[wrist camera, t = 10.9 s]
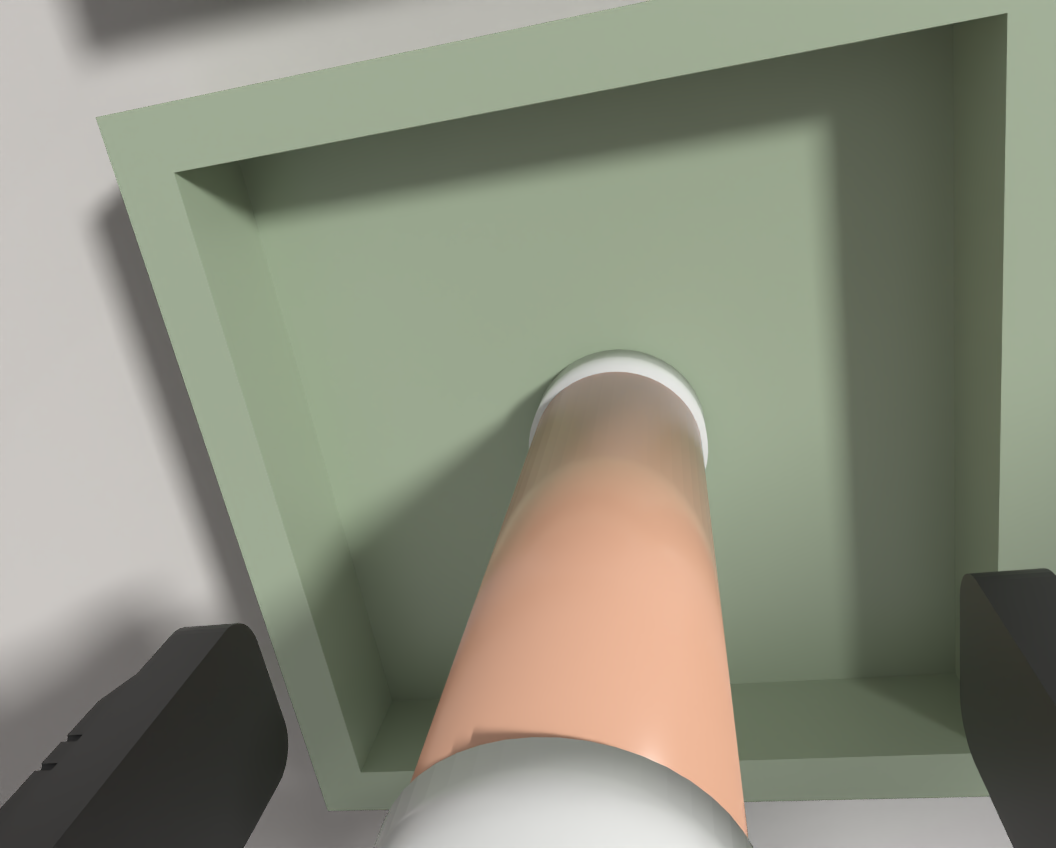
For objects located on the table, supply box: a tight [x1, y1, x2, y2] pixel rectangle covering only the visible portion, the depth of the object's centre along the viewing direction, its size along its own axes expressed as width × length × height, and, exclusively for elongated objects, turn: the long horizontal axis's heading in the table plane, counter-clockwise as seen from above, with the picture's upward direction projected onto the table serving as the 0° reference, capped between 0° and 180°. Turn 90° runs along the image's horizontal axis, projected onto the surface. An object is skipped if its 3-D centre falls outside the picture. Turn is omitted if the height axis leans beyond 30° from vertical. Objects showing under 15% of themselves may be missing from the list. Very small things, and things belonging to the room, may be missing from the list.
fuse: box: [374, 349, 753, 848], centre depth 11 cm, size 3×3×11 cm
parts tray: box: [96, 0, 1056, 811], centre depth 15 cm, size 14×14×3 cm
